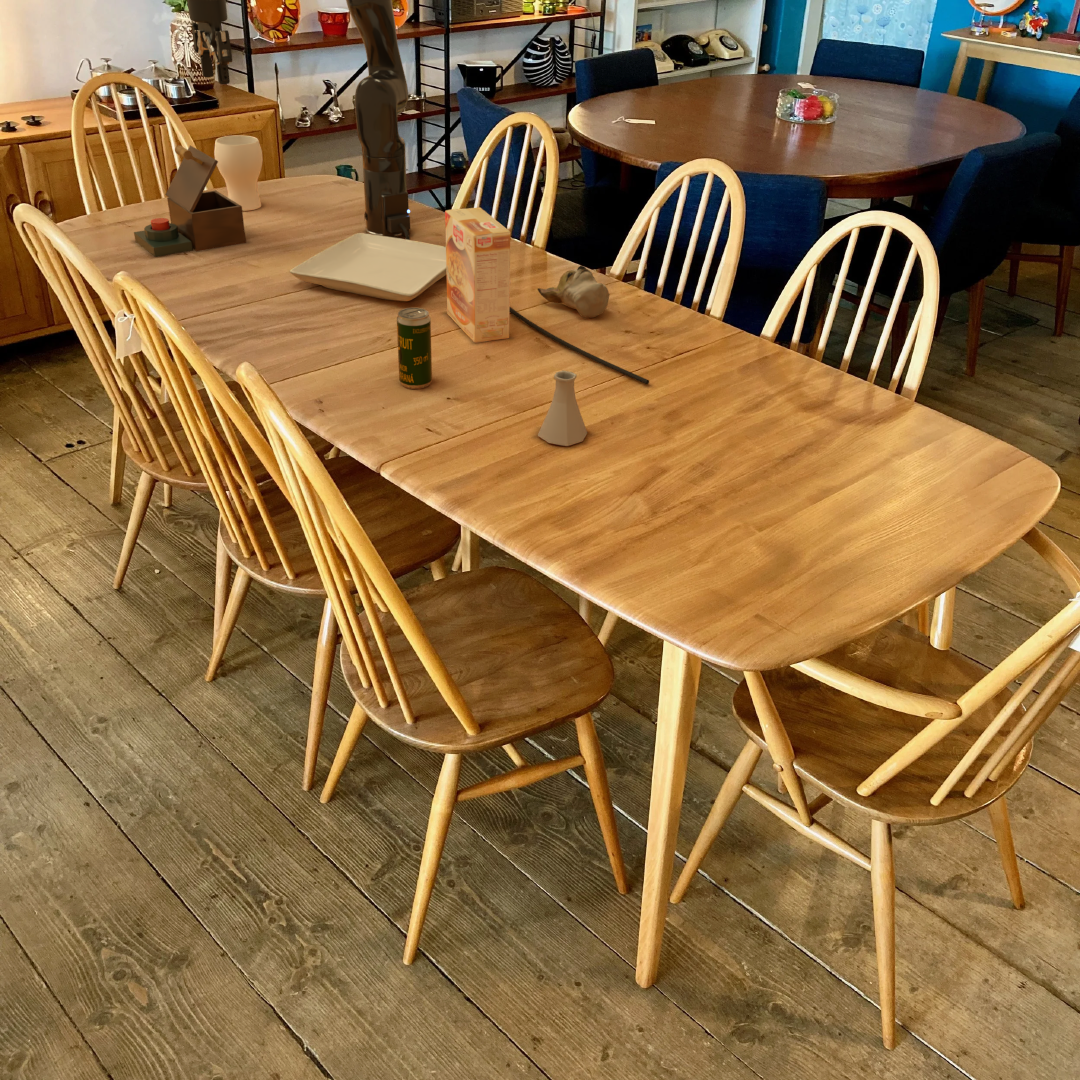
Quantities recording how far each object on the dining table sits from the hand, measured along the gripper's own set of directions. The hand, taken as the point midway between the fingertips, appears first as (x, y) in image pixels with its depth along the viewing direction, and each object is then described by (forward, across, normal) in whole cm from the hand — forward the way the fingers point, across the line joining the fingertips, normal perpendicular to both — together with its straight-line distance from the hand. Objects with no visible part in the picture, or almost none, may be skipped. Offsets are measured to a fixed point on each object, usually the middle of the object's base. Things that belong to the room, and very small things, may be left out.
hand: (216, 80), depth 233 cm
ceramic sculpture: (+30, -83, -34) cm, 95 cm away
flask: (+30, -123, 0) cm, 127 cm away
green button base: (+30, -8, +19) cm, 36 cm away
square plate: (+30, -49, -11) cm, 59 cm away
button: (+26, -8, +19) cm, 34 cm away
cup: (+30, +10, -7) cm, 33 cm away
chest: (+30, -8, +9) cm, 32 cm away
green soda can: (+30, -95, +9) cm, 100 cm away
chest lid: (+17, -8, +11) cm, 22 cm away
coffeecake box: (+30, -80, -13) cm, 87 cm away
